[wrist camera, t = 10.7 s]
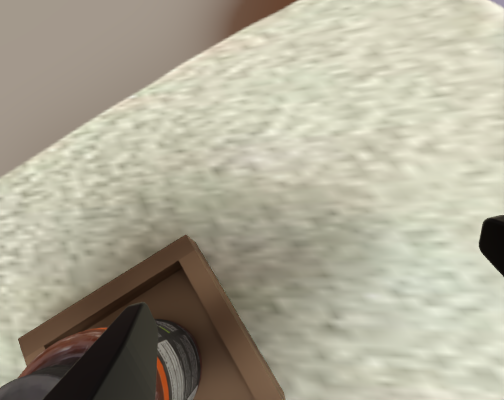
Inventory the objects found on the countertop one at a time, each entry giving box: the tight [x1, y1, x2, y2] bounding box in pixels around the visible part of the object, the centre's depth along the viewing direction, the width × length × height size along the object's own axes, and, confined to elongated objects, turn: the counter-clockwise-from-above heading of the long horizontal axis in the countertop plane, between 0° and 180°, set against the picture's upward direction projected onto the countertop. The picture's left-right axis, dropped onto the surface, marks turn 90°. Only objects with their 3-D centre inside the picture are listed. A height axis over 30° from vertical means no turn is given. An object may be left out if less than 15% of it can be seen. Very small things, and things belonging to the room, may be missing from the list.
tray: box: [18, 235, 285, 400], centre depth 18 cm, size 11×11×3 cm
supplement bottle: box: [0, 319, 202, 400], centre depth 13 cm, size 6×6×11 cm
